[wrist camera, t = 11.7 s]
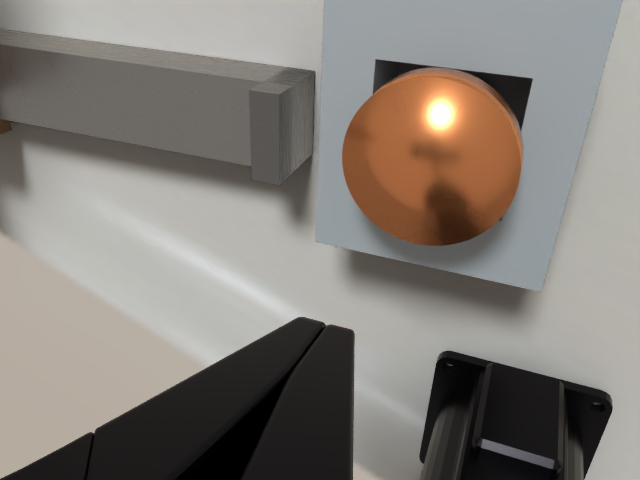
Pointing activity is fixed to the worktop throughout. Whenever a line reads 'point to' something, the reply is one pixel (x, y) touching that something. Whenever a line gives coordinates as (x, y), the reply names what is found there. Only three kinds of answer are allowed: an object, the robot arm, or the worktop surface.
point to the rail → (161, 100)
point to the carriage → (4, 126)
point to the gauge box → (501, 74)
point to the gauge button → (433, 156)
